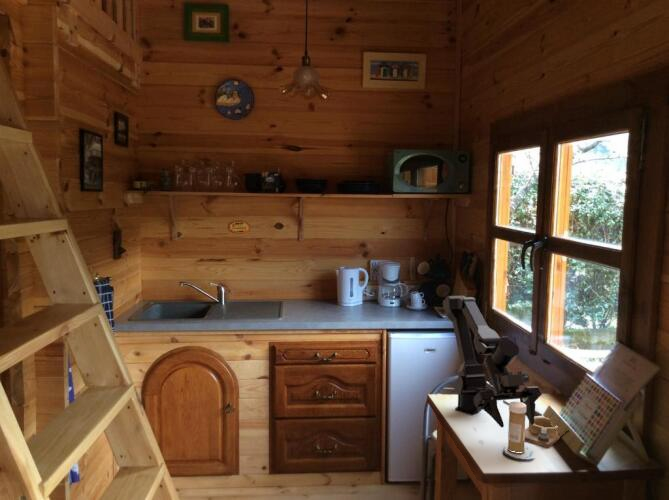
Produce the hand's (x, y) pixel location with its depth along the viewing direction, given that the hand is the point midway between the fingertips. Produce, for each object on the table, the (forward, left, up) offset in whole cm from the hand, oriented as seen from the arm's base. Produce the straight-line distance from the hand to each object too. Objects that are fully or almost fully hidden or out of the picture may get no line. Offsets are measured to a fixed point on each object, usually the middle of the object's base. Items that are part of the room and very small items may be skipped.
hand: (517, 425), depth 153 cm
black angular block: (-10, +30, -8) cm, 33 cm away
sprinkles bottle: (0, 0, -8) cm, 8 cm away
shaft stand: (+1, +16, -7) cm, 18 cm away
